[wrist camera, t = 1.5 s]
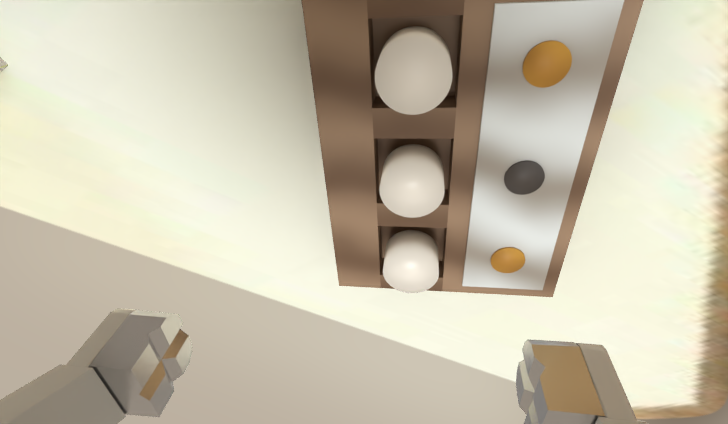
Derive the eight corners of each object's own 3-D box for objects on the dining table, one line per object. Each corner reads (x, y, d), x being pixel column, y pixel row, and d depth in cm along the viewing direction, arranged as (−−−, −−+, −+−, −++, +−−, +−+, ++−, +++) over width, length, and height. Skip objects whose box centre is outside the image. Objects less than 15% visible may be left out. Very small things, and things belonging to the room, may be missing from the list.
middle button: (382, 143, 26) (378, 162, 24) (445, 144, 26) (446, 163, 24) (383, 195, 29) (380, 216, 27) (441, 196, 28) (442, 218, 26)
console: (313, -18, 24) (298, -9, 21) (626, -34, 21) (656, -26, 19) (345, 261, 37) (338, 290, 34) (543, 270, 34) (554, 301, 31)
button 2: (377, 27, 22) (372, 38, 20) (452, 24, 22) (455, 35, 20) (380, 98, 25) (376, 114, 23) (448, 97, 24) (449, 114, 22)
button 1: (384, 229, 30) (381, 251, 28) (439, 230, 30) (440, 253, 28) (386, 268, 33) (383, 291, 31) (436, 270, 32) (437, 294, 30)
